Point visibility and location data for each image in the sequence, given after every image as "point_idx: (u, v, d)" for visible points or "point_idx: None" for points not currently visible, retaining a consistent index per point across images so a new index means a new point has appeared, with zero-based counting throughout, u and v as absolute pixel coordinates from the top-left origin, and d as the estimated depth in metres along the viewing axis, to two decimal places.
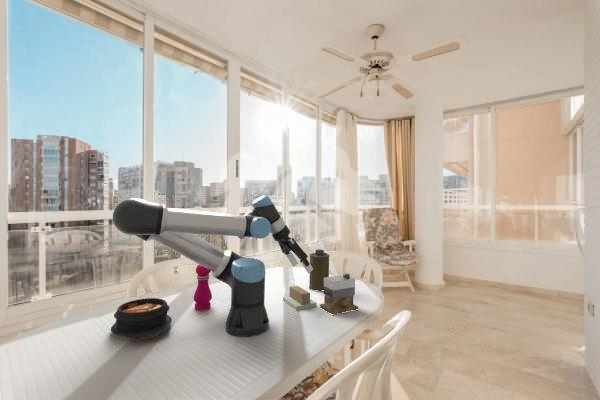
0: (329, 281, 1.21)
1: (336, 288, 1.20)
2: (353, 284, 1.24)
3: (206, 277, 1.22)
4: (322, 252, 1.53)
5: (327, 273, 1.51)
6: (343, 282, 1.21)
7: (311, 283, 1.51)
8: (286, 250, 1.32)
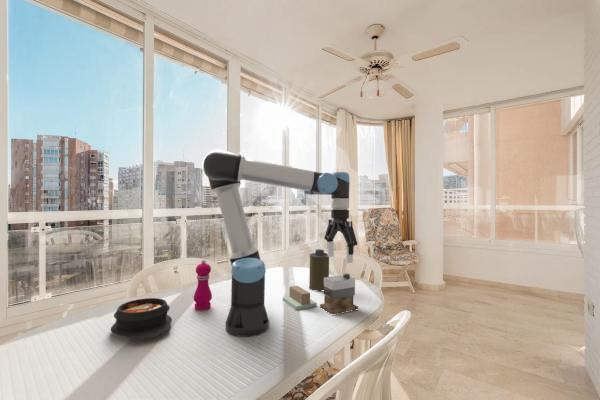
0: (329, 281, 1.21)
1: (336, 288, 1.20)
2: (353, 284, 1.24)
3: (206, 277, 1.22)
4: (322, 252, 1.53)
5: (327, 273, 1.51)
6: (343, 282, 1.21)
7: (311, 283, 1.51)
8: (331, 236, 1.29)
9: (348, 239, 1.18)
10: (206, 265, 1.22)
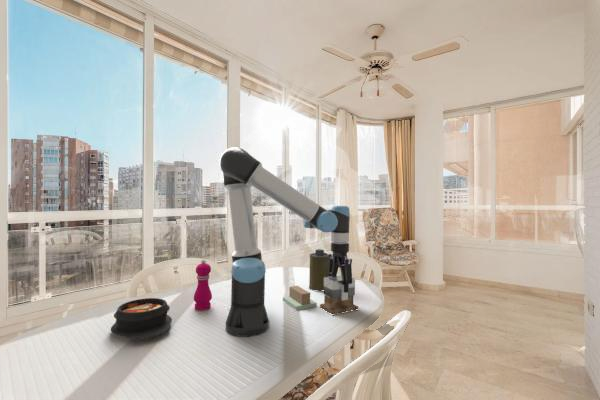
0: (329, 281, 1.21)
1: (336, 288, 1.20)
2: (353, 284, 1.24)
3: (206, 277, 1.22)
4: (322, 252, 1.53)
5: (327, 273, 1.51)
6: None
7: (311, 283, 1.51)
8: (334, 272, 1.27)
9: (344, 277, 1.20)
10: (206, 265, 1.22)
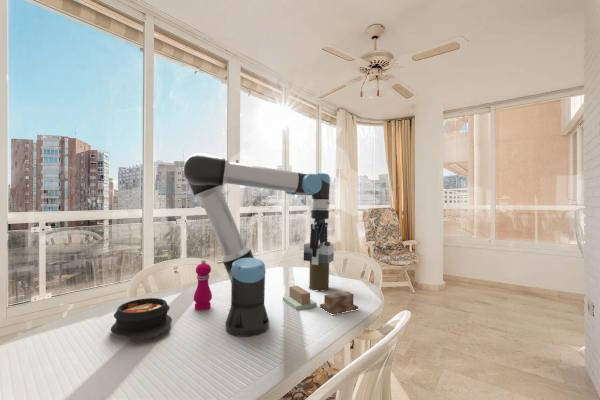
0: None
1: (307, 251, 1.26)
2: (326, 252, 1.22)
3: (206, 277, 1.22)
4: None
5: (327, 273, 1.51)
6: None
7: (311, 283, 1.51)
8: (320, 239, 1.31)
9: None
10: (206, 265, 1.22)
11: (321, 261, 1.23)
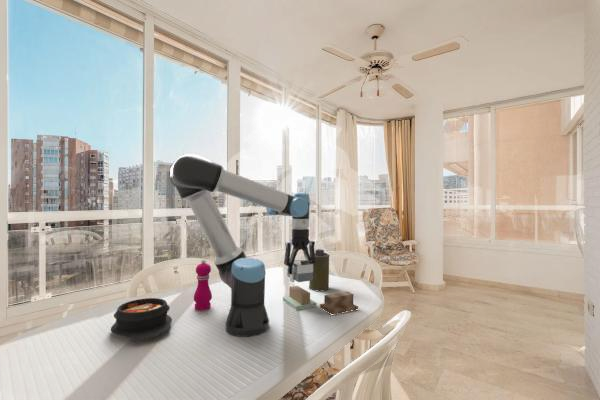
0: None
1: None
2: (297, 270, 1.25)
3: (206, 277, 1.22)
4: (322, 252, 1.53)
5: (327, 273, 1.51)
6: None
7: (311, 283, 1.51)
8: (305, 257, 1.32)
9: None
10: (206, 265, 1.22)
11: (295, 279, 1.26)
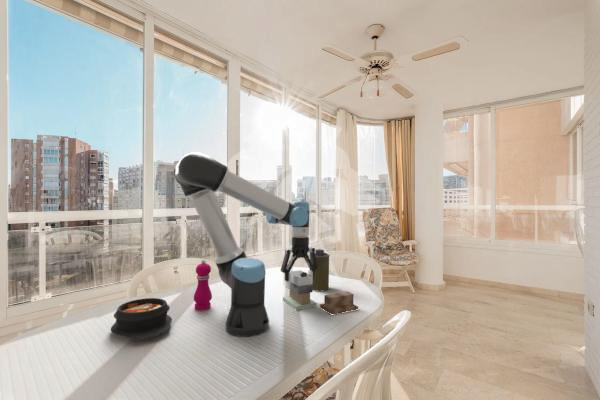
0: None
1: None
2: (297, 282, 1.25)
3: (206, 277, 1.22)
4: (322, 252, 1.53)
5: (327, 273, 1.51)
6: (292, 276, 1.29)
7: None
8: None
9: (287, 266, 1.28)
10: (206, 265, 1.22)
11: (295, 291, 1.26)
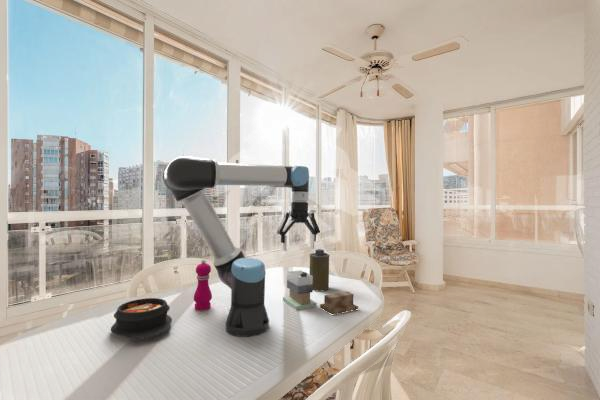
0: None
1: (288, 279, 1.32)
2: (297, 282, 1.25)
3: (206, 277, 1.22)
4: (322, 252, 1.53)
5: (327, 273, 1.51)
6: (292, 276, 1.29)
7: None
8: (309, 228, 1.34)
9: (284, 228, 1.28)
10: (206, 265, 1.22)
11: (295, 291, 1.26)
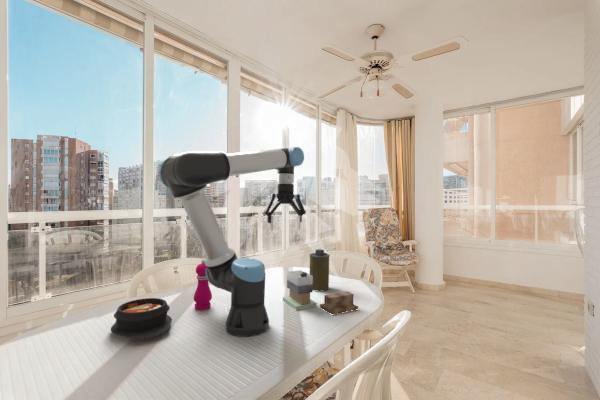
0: None
1: (288, 279, 1.32)
2: (297, 282, 1.25)
3: (206, 277, 1.22)
4: (322, 252, 1.53)
5: (327, 273, 1.51)
6: (292, 276, 1.29)
7: None
8: (294, 209, 1.39)
9: (270, 209, 1.33)
10: None
11: (295, 291, 1.26)
